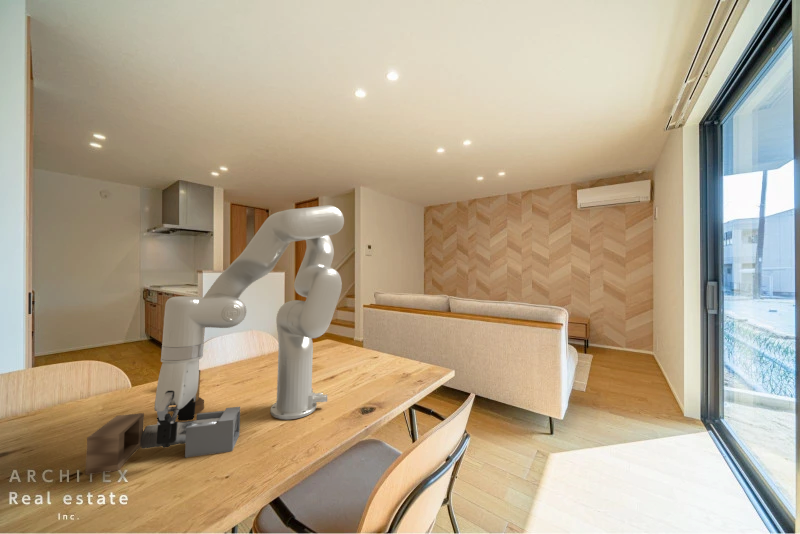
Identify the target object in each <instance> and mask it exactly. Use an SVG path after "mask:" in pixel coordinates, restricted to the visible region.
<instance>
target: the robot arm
mask: <svg viewBox="0 0 800 534" xmlns="http://www.w3.org/2000/svg"><path fill="white" fill-rule="evenodd" d="M344 224H345V218H344V213H343V212H342V211H341V210H340V208H338V207H336V206H334V205H330V204H329V205H328V204H327V205H319V206H312V207H302V208H291V209H290V208H289V209H285V210H282V211H278V212H277V211H276V212H275V213H272V214H270V216H268V217H267V218H266V219H265V220H264V222H263V223H262V224H261V226H260V228H259V229H258V231H257V232H256V233H255V234H254V236H253V237H252V238H251V240H250V241H249V243H248V244H247V245H246V246H245V248H244V250H243V251H242V252H241V253H240V254H239V255H238V256H237V257H236V259H234V260H233V261H232V263H230V265H229V266H227V268H225V269H224V271H222V273H220V275H219V276H218V277H217V278H216V280H214V282H213V283H212V285H211V286H210V287H209V289H208V290H207V291H206V293H205V294H204V296H203V297H201V296H191V295H190V296H189V295H188V296H187V295H185V296H184V295H183V296H182V295H181V296H173V297H169V298H168V299H167V300H166V302H165V305H164V306H165V307H164V316H163V330H162V342H161V344H162V345H161V353H160V355H161V357H160V362H161V363H162V364H161V367H160V371H159V375H158V381H157V386H156V392H155V401H154V411H155V412H156V414H157V417H156V420H157V422H156V424H157V425H158V430H157V444H165V443H174V442H175V441H176V436H177V423H178V422H184V421H194V419H195V415H196V414H195V403H196V402H194V401H195V400H196V393H197V389H198V381H199V370H200V360H201V359H202V358H204V346H205V334H206V333H205V332H206V328H211V329H212V328H215V329H216V328H217V329H218V328H219V329H230V328H234V327H236V326H238V325H239V324H240V323H242V322H243V321H244V320H245V318H246V316H247V307H246V304H245V303H244V302H243V301H242V300H241V299H239V298H240V297H241V296H242V294H244V292H245V291H246V290H247V288H248V287H249V286H251V285H252V284H253V283H255V282H257V281H258V280H260V279H262V278H264V277H265V276H267V275H268V274H269V273H271V272H272V271H273V270H274V269H275V266H276V265H277V263H278V262H279V261H280V259H281V258H282V256H283V254H284V253H285V252H286V250H287V249H288V247H289V246H290V245H291V242H292V243H293V242H299V241H305V243H306V248H305V253H304V256H303V259H302V261H301V264H300V267H299V269H298V271H297V274H296V276H295V279H294V284H293V288H294V291H295V293H296V294H298V295H299V296H301V297H304V298H306V299H305V301H304V300H299V299H298V300H297V299H294V300H290V301H287V302H285V303H283V304H281V306H280V308H279V309H278V311H277V314H276V322H275V323H276V331H277V337H278V338H277V340H278V341H277V342H278V349H277V350H278V351H277V352H278V356H277V385H276V402H275V403H273V404H272V405H271V407H270V415H271V416H272V417H273V418H275V419H278V420H296V419H300V418H304V417H306V416H309V415H310V414H312V413H314V412H315V411H316V409H317V403H326V402H328V394H324V393H323V392H313V390H314V388H313V358H314V357H313V353H314V346H313V345H314V343H313V339H317V338H320V337H321V336H322V335H324V334H325V333H326V332H327V330H329V329H328V328H329V326H330V325H331V322H332V320H333V316H334V315H335V314H334V313H335V311H336V307H337V305H338V302H339V299H340V297H341V292H342V286H343V283H342V277H341V274H340V273H339V272H338V270H336V269H335V268H333V267H332V263H333V259H334V256H335V250H334V244H333V242H332V239H331V237H330V236H333V235H337V234H338V233H340V231H341V230H342V229H343V227H344ZM171 412H173V413H172V414H171ZM176 420H177V421H176Z"/></svg>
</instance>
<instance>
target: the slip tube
mask: <svg viewBox="0 0 800 534" xmlns="http://www.w3.org/2000/svg"><path fill="white" fill-rule="evenodd" d="M219 419H220V418H212V419H203V420H196V419H195V420H194V419H193V420H186V421H178V423H177V436H176V441H175V442H174V443H165V444H157V430H158V425H157V423H156V424H150V425H147V426H146V427H145V428H143V433H142V435H141V440H140V446H141V447H140V449H142V450H144V449H152V448H158V447H162V448H163V449H165V448H167V449H168V448H170V446H175V445H185V443H186V427H187V426H193V425H202V424H211V423H218V421H219ZM236 430H237V416H236V418H235V420H234V437H235V434H236Z"/></svg>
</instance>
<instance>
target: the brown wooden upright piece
mask: <svg viewBox="0 0 800 534" xmlns="http://www.w3.org/2000/svg"><path fill="white" fill-rule="evenodd" d="M200 387H201V369H199V381H198V389H197V393H196V400H195V401H194V402H196V403H195V415H197V414H198V413H202V412H203V411H204V409H205V400H204V399H203V398H201V396H200Z"/></svg>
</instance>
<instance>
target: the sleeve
mask: <svg viewBox="0 0 800 534" xmlns="http://www.w3.org/2000/svg"><path fill="white" fill-rule="evenodd" d="M195 415H196V418H195V420H203V419H212V418H220V419H219V421H218V423H211V424H202V425H193V426H187V427H186V443H184V445H185V449H184V451H185V452H184V458H193V457H200V456H207V455H213V454H220V453H228V452H233V450H234V448H235V446H236V445H237V441H238V439H239V437H240V430H241V429H240V427H241V424H240V423H241V406H234V407H233V406H232V407H226V408H225V409H224V410H217V411H208V412H200V413H197V414H195ZM236 416H237V430H236V434H235V437H234V420H235V418H236Z"/></svg>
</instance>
